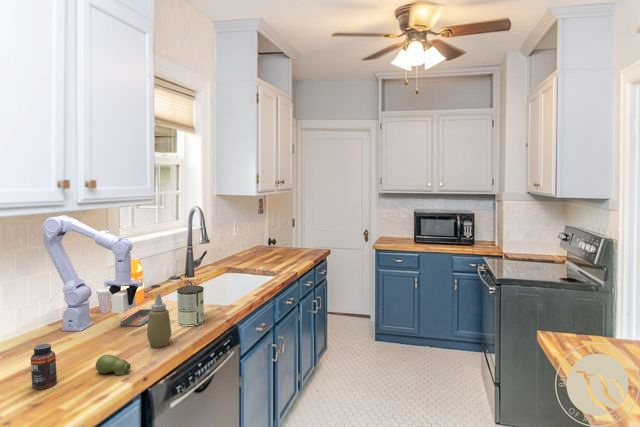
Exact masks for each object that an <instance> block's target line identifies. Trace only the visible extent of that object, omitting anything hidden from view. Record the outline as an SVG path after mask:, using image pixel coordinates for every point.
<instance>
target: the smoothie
mask: <svg viewBox="0 0 640 427" xmlns="http://www.w3.org/2000/svg"><path fill="white" fill-rule="evenodd" d="M105 281H107V279H104V282H105ZM109 288H110V287H109ZM109 288H108V287H105V286H104V288H99V289H97V290H96V291H95V292H96V294H97V295H96V296H97V299H98V305H99V312H100V313H101V314H107V313H110V312H111V307H112V294H111V292H110V291H109Z"/></svg>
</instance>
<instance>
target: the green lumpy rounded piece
mask: <svg viewBox="0 0 640 427" xmlns="http://www.w3.org/2000/svg"><path fill="white" fill-rule="evenodd" d="M95 368H96V369H95V370H96V371H97V372H98V373H100V374H107V373H112V372H113V373H115V374H116V375H117V376H121V375H123V374H124V375H126V374H127V373H128V372H130V369H131V363H128V361H127V360H125V359H121V358H119V357H118V356H116V355H113V354H103V355H101V356H99V357H98V358H97V360H96V362H95ZM127 371H128V372H127ZM126 372H127V373H126ZM125 373H126V374H125ZM124 375H123V376H124Z"/></svg>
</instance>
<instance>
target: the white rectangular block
mask: <svg viewBox="0 0 640 427" xmlns="http://www.w3.org/2000/svg"><path fill="white" fill-rule="evenodd" d="M136 306H137V304H136V293H135V296H134V300H133V304H132V305H129V304H128V294H127V290H126V289H123V290H121V291H119V292H117V293H115V294H113V295H112V296H111V311H112V312H111V313H112V314H125V313H126V312H129V311H130V310H132V309H133V308H135V307H136Z"/></svg>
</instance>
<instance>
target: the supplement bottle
mask: <svg viewBox="0 0 640 427" xmlns="http://www.w3.org/2000/svg"><path fill="white" fill-rule="evenodd" d="M33 352H34V353H33V354H32V355H31V356H30V372H31V386H32V388H33V389H34V390H45V389H48V388H51V387H53V386H55V385H56V384H57V382H58V379H57V377H58V375H57V359H56V353H55V351H54V350H52V347H51V344H50V343H43V344H42V343H41V344H38V345H35V346H34V347H33Z"/></svg>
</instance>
